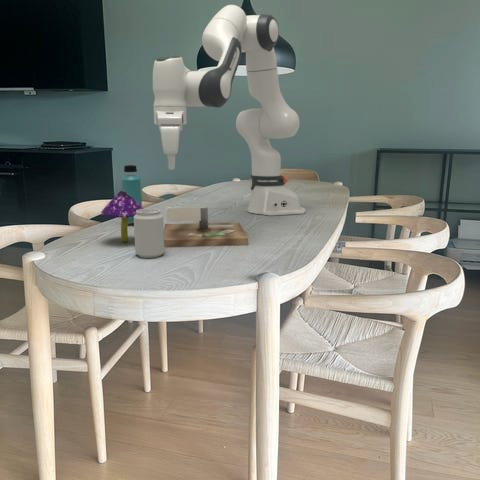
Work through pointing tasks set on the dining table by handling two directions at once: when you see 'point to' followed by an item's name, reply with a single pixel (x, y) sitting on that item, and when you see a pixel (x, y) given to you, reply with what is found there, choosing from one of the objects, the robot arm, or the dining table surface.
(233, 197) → the dining table surface
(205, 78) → the robot arm
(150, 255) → the can
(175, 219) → the cream lever
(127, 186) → the beverage bottle
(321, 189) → the dining table surface
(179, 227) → the board
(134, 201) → the decorative mushroom
